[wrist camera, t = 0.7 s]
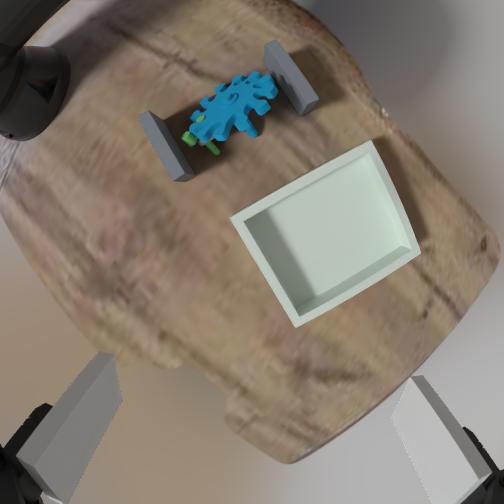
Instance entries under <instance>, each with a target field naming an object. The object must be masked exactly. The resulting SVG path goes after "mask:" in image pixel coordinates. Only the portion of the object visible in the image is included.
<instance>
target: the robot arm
mask: <svg viewBox="0 0 504 504" xmlns="http://www.w3.org/2000/svg"><path fill="white" fill-rule="evenodd" d="M69 1H70V0H0V134H1V135H3V136H4V137H6V138H8V139H10V140H16V141H27V140H30V139H32V138H34V137H35V136H37V135H38V134H39V133H41V132H42V131H43V130H44V129H45V128H46V127H47V126H48V124H49V123H50V122H51V121H52V119H53V118H54V116H55V115H56V113H57V111H58V110H59V108H60V106H61V104H62V101H63V99H64V97H65V94H66V91H67V88H68V83H69V77H70V67H69V62H68V60H67V58H66V56H65V55H64V54H63V53H61V52H59V51H58V50H56V49H54V48H51V47H40V46H24V45H25V44H26V42H27V41H28V40H29V39H30V38H31V37H32V36H33V35H34V34H35V33H36V32H37V31H38V30H39V29H40V28H41V27H42V26H43V25H44V24H45V23H46V22H47V21H48V20H49V19H50V18H51V17H52V16H53V15H54V14H55V13H56V12H57V11H59V10H60V9H61V8H62V7H63V6H64V5H65V4H67V3H68V2H69ZM121 403H122V397H121V391H120V387H119V381H118V376H117V371H116V364H115V358H114V355H112V354H108V353H104V352H100V351H99V352H98V353H97V354H96V355H95V357H94V358H93V359H92V360H91V361H90V362H89V364H88V365H87V366H86V367H85V368H84V370H83V371H82V372H81V373H80V374H79V375H78V377H77V378H76V379H75V381H73V383H72V384H71V385H70V387H68V389H67V390H66V391H65V392H64V394H63V395H62V396H61V397H60V399H59V400H58V401H57V402H56V404H55V405H54V406H51V405H49V404H47V403H45V404H43V405H41V406H39V407H37V408H35V410H34V411H33V412H32V413H31V414H30V416H29V418H28V419H26V420H25V422H24V423H23V425H21V427H20V428H19V429H18V430H17V431H16V433H15V434H14V435H13V436H12V438H11V439H10V440H9V442H8V443H7V444H6V446H5V447H4V448H2V446H1V444H0V504H43V501H42V499H41V497H40V495H41V493H42V491H43V492H44V493H45V494H46V495H47V496H48V497H49V498H50V499H52V500H54V501H56V502H58V503H59V504H68V502H69V500H70V499H71V496H72V495H73V493H74V491H75V489H76V487H77V485H78V483H79V481H80V479H81V477H82V475H83V473H84V471H85V469H86V467H87V465H88V463H89V461H90V459H91V458H92V455H93V454H94V452H95V450H96V448H97V446H98V444H99V443H100V441H101V439H102V437H103V435H104V433H105V432H106V430H107V428H108V426H109V424H110V422H111V420H112V419H113V417H114V415H115V413H116V412H117V410H118V408H119V406H120V404H121ZM390 419H391V421H392V423H393V425H394V427H395V429H396V431H397V433H398V435H399V437H400V439H401V441H402V443H403V445H404V447H405V449H406V451H407V453H408V455H409V457H410V459H411V461H412V463H413V465H414V467H415V469H416V471H417V474H418V476H419V478H420V480H421V482H422V484H423V486H424V489H425V491H426V493H427V495H428V497H429V499H430V502H431V504H504V469H503V470H501V471H500V470H499V469H498V468H497V466H496V464H495V463H494V462H493V460H492V459H491V458H490V456H489V454H488V453H487V451H486V450H485V449H484V448H483V446H482V444H481V443H480V442H478V441H479V440H478V439H477V437H476V436H475V435H474V434H473V432H471V431H470V430H469V429H467V428H466V427H463V428H462V427H461V426H460V424H459V423H458V422H457V420H456V419H455V417H454V416H453V415H452V413H451V412H450V411H449V409H448V408H447V407H446V405H445V404H444V403H443V401H442V400H441V399H440V397H439V396H438V395H437V393H436V392H435V391H434V389H433V388H432V387H431V385H430V384H429V383H428V382H427V380H426V379H425V378H424V376H413V377H410V378H409V381H408V383H407V385H406V387H405V390H404V392H403V394H402V396H401V398H400V400H399V403H398V404H397V406H396V408H395V410H394V412H393V415H392V416H391V418H390Z"/></svg>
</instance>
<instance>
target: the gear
mask: <svg viewBox="0 0 504 504" xmlns="http://www.w3.org/2000/svg"><path fill="white" fill-rule="evenodd" d="M215 91H216V92H217V95H216V97H215V99H214V100H211V98H210V97H209V96H207V97H205V98H204V99H203V100H202V101H201V102H200V105H201V106H202V107H203V108H204V109H207V110H206V111H204V112H203V113H201V112H200V111H199V110H197V111H195V112H194V113H193V114H192V116H191V117H190V119H191V120H192V121H193V122H194V123H193V124H192V125H191V126H190V128H189V132H185V133H184V134H183V135H182V137H181V139H182V140H183V141H184V142H185V143H186V144H187V145H188V146H190V147H192V146H194V145H195V144H196V142H197V143H198V144H199V145H200V146H202V145H206V146H207V147H208V148H209V149H210V150H211V151H212V152H213V153H214V155H218V154H219V153H220V150H219V149H218V148H217V147H216V146H215V145H214V144H213V143H212V142H211V140H212V139H214V138H216V139H217V140H218V141H224V140H227V139H228V137H229V133H230V130H231V128H232V126H233V125H234V124H235V126H236V127H237V128H238V130H239V131H244V130H245V131H246V132H247V133H248V135H249V136H250V137H251V138H254V137H256V136H257V135H258V131H257V130H256V129H255V127H254V126H253V124H252V123H251V121H250V120H249V119H248V114H249V111H250V110H251V109H253V108H254V109H255V110H256V112H257V113H258V115H263V114H265V113H266V112H267V111H268V110H269V109H270V108H271V107H270V106H269V104H268V102H267V101H266V100H257V99H258V98H260V97H262V96H266V97H267V98H268V99H272V98H274V97H275V96H276V95H277V93H278V89H277V88H276V86H275V85H274V81H273V79H272V78H271V76H270V74H267V75H265V76H263V77H262V76H261V75H260V73H259V72H253V73H251V74H250V75H249V77H248V78H247V79H245V78H244V76H243V75H239V76H235V77H234V78H233V80H232V83H231V85H230V86H229V87H228V88H227V86H226V85H225V84H224V83H223V84H221V85H219V86H217V87H216V88H215Z"/></svg>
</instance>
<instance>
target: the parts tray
mask: <svg viewBox="0 0 504 504" xmlns="http://www.w3.org/2000/svg"><path fill="white" fill-rule="evenodd" d="M230 219H231V221H232V223H233V224H234V226H235V228H236V230H237V231H238V233H239V235H240V236H241V238H242V240H243V241H244V243H245V245H246V246H247V248H248V250H249V251H250V253H251V255H252V256H253V258H254V260H255V261H256V263H257V265H258V266H259V268H260V270H261V271H262V273H263V275H264V276H265V278H266V280H267V281H268V283H269V285H270V286H271V288H272V290H273V291H274V293H275V295H276V296H277V298H278V300H279V301H280V303H281V305H282V306H283V308H284V310H285V311H286V313H287V315H288V316H289V318H290V320H291V321H292V323H293V325H294V326H295V328H297V327H299V326H300V325H302V324H304V323H306V322H308V321H310V320H312V319H314V318H315V317H317V316H319V315H321V314H323V313H325V312H326V311H328V310H330V309H332V308H333V307H335V306H337V305H339V304H341V303H342V302H344V301H346V300H347V299H349V298H351V297H353V296H354V295H356V294H358V293H359V292H361V291H363V290H364V289H366V288H368V287H369V286H371V285H373V284H374V283H376V282H377V281H379V280H381V279H382V278H384V277H385V276H387V275H389V274H390V273H392V272H393V271H395V270H396V269H398V268H399V267H401V266H403V265H404V264H406V263H407V262H409V261H410V260H412V259H413V258H415V257H416V256H418V255H419V254H420V253H421V251H420V248H419V245H418V243H417V240H416V237H415V234H414V232H413V229H412V227H411V224H410V222H409V219H408V217H407V214H406V212H405V209H404V207H403V205H402V202H401V200H400V198H399V196H398V193H397V191H396V189H395V187H394V185H393V182H392V180H391V178H390V176H389V174H388V172H387V170H386V168H385V166H384V164H383V162H382V160H381V158H380V156H379V154H378V152H377V150H376V148H375V146H374V145H373V143H372V141H371V140H369V141H367V142H365V143H362V144H360V145H358V146H356V147H354V148H352V149H350V150H348V151H346V152H344V153H342V154H341V155H339V156H337V157H335V158H333V159H331V160H329V161H327V162H326V163H324V164H322V165H320V166H318V167H316V168H314V169H313V170H311V171H309V172H307V173H305V174H303V175H302V176H300V177H298V178H296V179H294V180H293V181H291V182H289V183H287V184H285V185H284V186H282V187H280V188H278V189H277V190H275V191H273V192H271V193H270V194H268V195H266V196H264V197H263V198H261V199H259V200H257V201H256V202H254V203H252V204H250V205H249V206H247V207H245V208H244V209H242V210H240V211H238V212H237V213H235V214H233V215H232V216H231V217H230Z"/></svg>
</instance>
